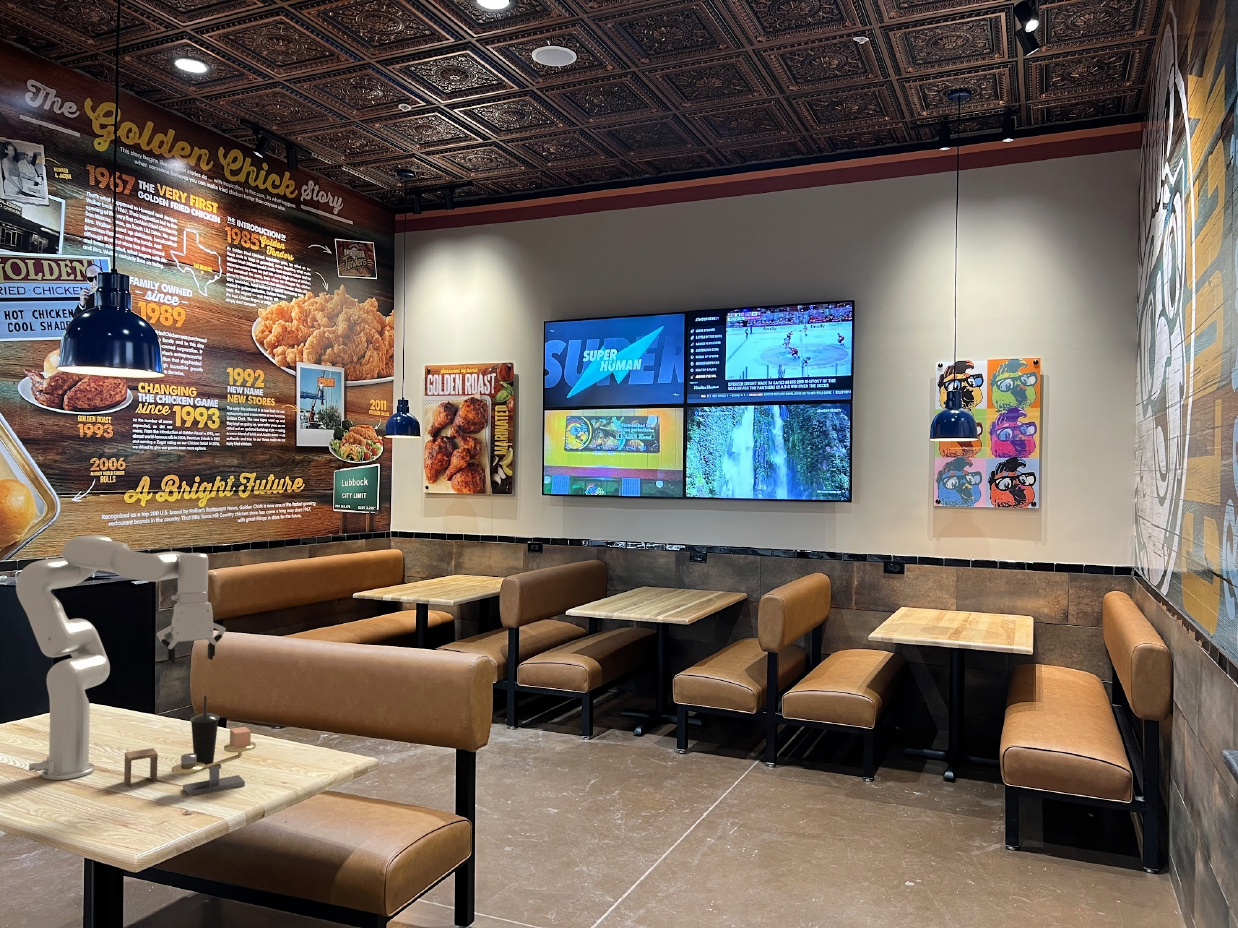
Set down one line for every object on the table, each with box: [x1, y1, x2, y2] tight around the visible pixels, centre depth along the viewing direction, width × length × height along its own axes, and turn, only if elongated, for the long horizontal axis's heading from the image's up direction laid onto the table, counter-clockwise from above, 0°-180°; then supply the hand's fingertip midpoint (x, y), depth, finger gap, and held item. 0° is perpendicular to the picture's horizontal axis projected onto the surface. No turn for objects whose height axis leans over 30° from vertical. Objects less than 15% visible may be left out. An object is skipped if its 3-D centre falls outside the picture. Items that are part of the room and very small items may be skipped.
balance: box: [171, 741, 257, 797], centre depth 242 cm, size 21×8×10 cm, turn 127°
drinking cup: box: [190, 695, 220, 765], centre depth 260 cm, size 8×8×20 cm
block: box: [229, 726, 252, 748], centre depth 247 cm, size 4×4×6 cm
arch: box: [123, 747, 158, 788], centre depth 246 cm, size 7×6×8 cm
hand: (191, 660), depth 249 cm, fingers open, 9 cm apart
